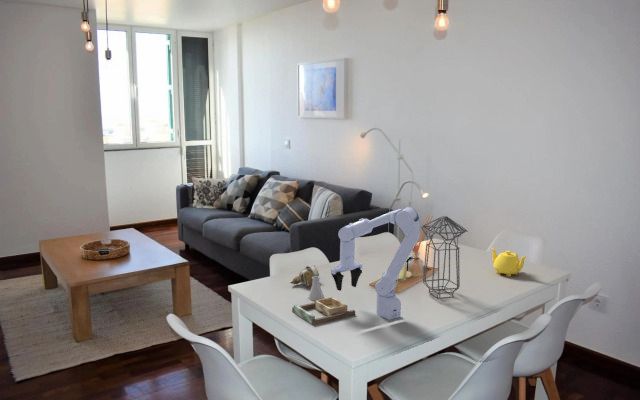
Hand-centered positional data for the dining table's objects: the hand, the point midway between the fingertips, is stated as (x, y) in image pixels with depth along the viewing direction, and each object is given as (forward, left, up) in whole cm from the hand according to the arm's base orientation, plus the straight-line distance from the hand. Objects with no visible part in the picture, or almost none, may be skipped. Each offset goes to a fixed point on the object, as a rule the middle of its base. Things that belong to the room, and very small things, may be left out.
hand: (346, 288), depth 215 cm
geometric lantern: (-8, -45, -9) cm, 46 cm away
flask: (+15, +5, -9) cm, 18 cm away
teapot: (-3, -96, -9) cm, 96 cm away
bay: (-1, +12, -9) cm, 15 cm away
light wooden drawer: (-1, +8, -8) cm, 11 cm away
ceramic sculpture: (+35, -3, -9) cm, 36 cm away
